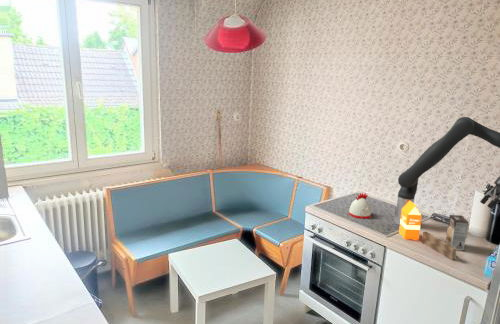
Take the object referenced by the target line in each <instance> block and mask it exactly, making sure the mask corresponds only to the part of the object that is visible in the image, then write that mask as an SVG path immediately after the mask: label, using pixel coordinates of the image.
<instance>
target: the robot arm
mask: <svg viewBox="0 0 500 324" xmlns="http://www.w3.org/2000/svg"><path fill="white" fill-rule="evenodd" d="M469 135H471V136H474V137H477V138H480V139H482V140H483V141H486V142H487V143H489V144H490V145H493V146H494V147H497V148H498V149H500V132H499V131H496V130H495V129H491V128H489V127H487V126H485V125H484V124H481V123H480V122H477V121H475V120H474V119H472V118H470V117H467V116H460V117H459V118H458V119H457V120H456V121H455V122H454V123H453V125H452V126H451V127H450V129H449V130H448V131H447V132H446V134H444V135H443V136H442V137H441V138H439V139H438V140H436V141H435V142H433V144H431V145H430V146H428V148H427V149H426V150H425V151H424V152H423V153H422V154H421V155H420V156H419V157H418V159H417V160H416V161H415V162H414V163H413V164H412V165H411V166H410V167H408V168H407V169H406V170H405V171H403V172H402V173H401V174H400V175H399V177H398V180H397V183H398V184H399V186H400V188H399V190H398V191H397V192H398V193H397V199H396V201H397V202H396V206H395V207H394V208H395V209H394V215H393V217H394V218H393V222H394V223H395V225H398V226H400V219H401V212H402V208H403V207H404V206H405V205H406V204H407V203H408V202H409V201H411V202H412V203H414V204H415V197H416V194H417V191H418V184H419V178H421V176H422V175H423V174H425V173H426V172H428V171H429V170H430V169H432V168H433V167H435V166H436V165H437V164H439V162H441V161H442V160H443V159H444V158H445V157H446V156H447V155H448V154H449V153H450V151H452V149H454V147H456V145H457V144H458V143H460V142H461V141H463V140H464V139H465V138H466V137H467V136H469ZM493 183H494V185H495V186H494V185H492V184H491V185H489V187H488V188H487V189H486V190H485V192H484V193H483V195H484V196H483V197H482V199H480V204H483V205H485V204H486V203H487V202H488V201H489V199H491V198H492V200H490V202H489V203H488V204H487V207H488V208H490V209H493V208H494V207H495V206H496V205H497V204H499V203H500V175H499V176H498V177H497V178H496V179H495V181H494V182H493Z"/></svg>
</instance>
